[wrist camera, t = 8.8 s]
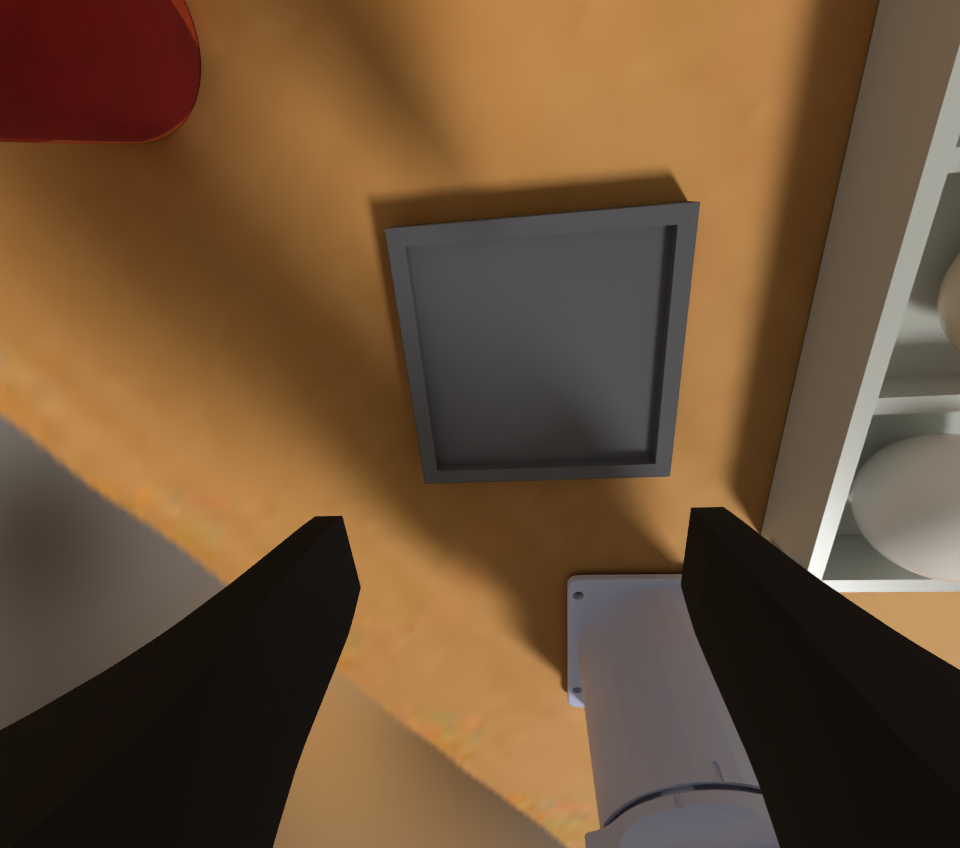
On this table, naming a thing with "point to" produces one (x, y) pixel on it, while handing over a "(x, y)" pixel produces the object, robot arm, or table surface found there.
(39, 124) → the paper cup
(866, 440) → the tray
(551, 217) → the coaster
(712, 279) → the table surface
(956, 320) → the beige ball
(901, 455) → the white egg
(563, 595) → the table surface
